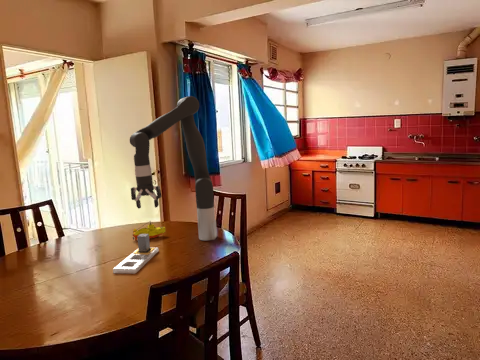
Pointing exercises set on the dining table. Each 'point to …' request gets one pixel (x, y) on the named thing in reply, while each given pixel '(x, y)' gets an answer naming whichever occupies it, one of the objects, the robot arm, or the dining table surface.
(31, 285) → the dining table surface
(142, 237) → the peg
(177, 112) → the robot arm
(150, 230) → the toy boat
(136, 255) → the rail
